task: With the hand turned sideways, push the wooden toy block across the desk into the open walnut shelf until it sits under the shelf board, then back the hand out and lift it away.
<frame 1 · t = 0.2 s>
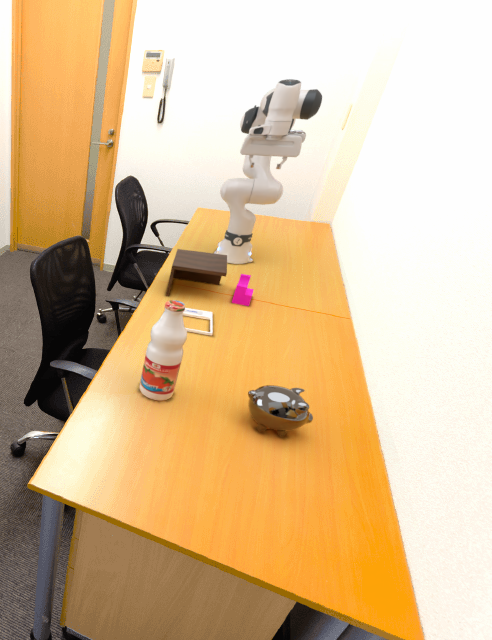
hand: (264, 168, 169), 48 cm above the table, tool pointing down, fingers open, 8 cm apart
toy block: (242, 298, 177), on the table
fruit juice: (155, 391, 123), on the table
piggy bank: (270, 427, 110), on the table
photo frame: (190, 321, 160), on the table
shelf: (193, 290, 184), on the table
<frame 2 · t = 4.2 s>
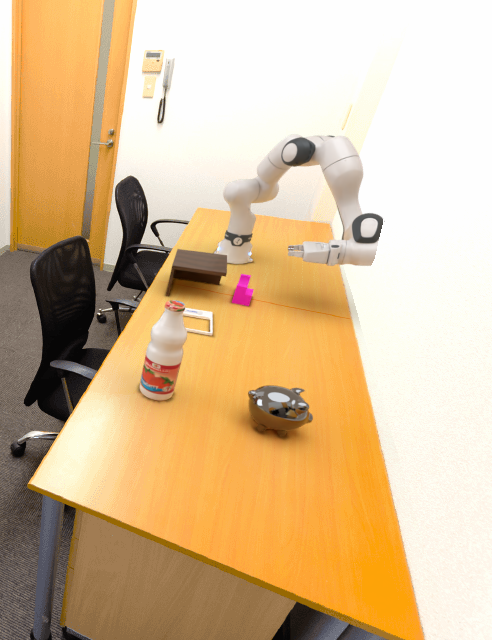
hand: (288, 250, 163), 22 cm above the table, tool horizontal, fingers open, 8 cm apart
nothing on the table moved.
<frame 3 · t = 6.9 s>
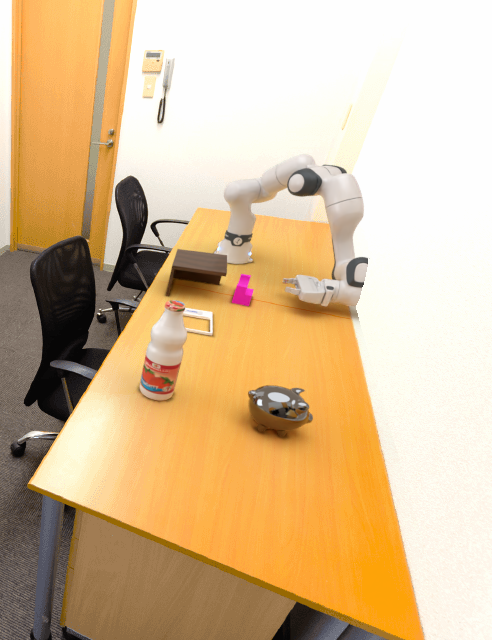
hand: (283, 284, 168), 8 cm above the table, tool horizontal, fingers open, 8 cm apart
nothing on the table moved.
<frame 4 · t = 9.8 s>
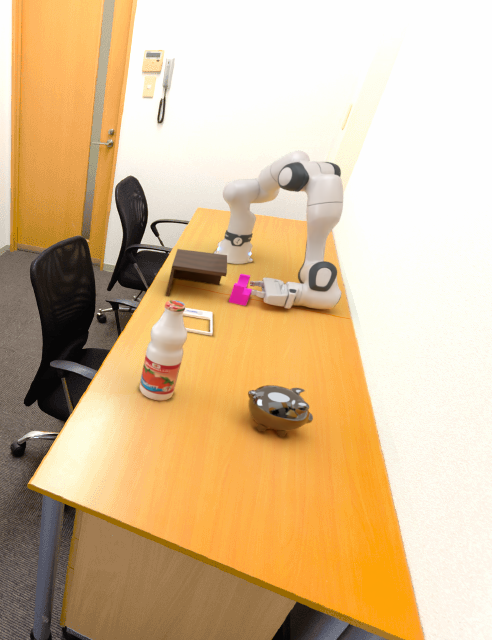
hand: (250, 287, 174), 5 cm above the table, tool horizontal, fingers open, 8 cm apart
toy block: (240, 298, 178), on the table, touching gripper
everything else where it was.
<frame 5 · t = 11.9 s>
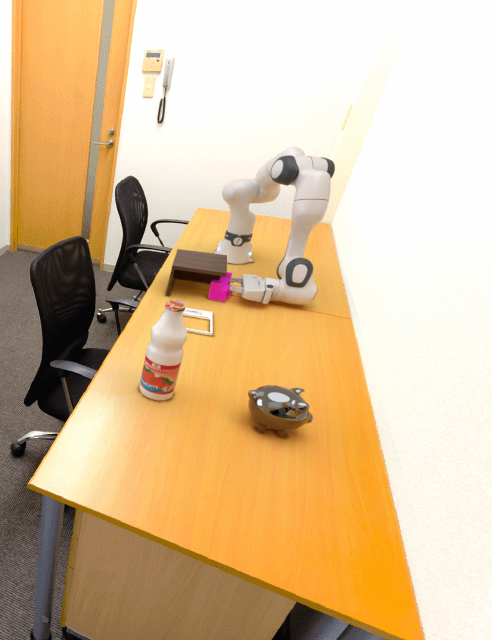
hand: (229, 283, 176), 6 cm above the table, tool horizontal
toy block: (221, 294, 180), on the table, touching gripper
everything else where it was.
when the fingers open (5 cm above the table, at t = 13.6 s): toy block stays where it is, on the table.
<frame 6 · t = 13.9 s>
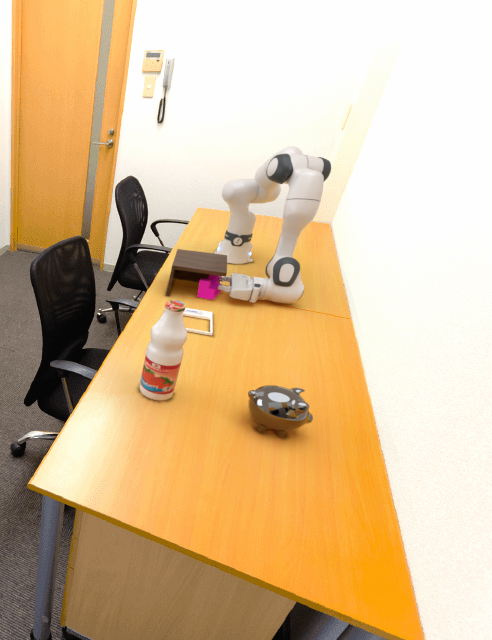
hand: (218, 282, 178), 5 cm above the table, tool horizontal, fingers open, 8 cm apart
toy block: (210, 293, 181), on the table, touching gripper
everything else where it was.
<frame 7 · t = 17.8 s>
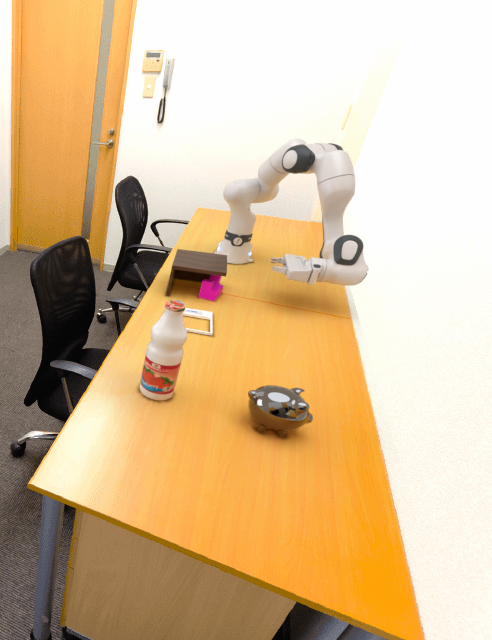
hand: (271, 263, 167), 16 cm above the table, tool horizontal, fingers open, 8 cm apart
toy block: (211, 293, 181), on the table
everything else where it was.
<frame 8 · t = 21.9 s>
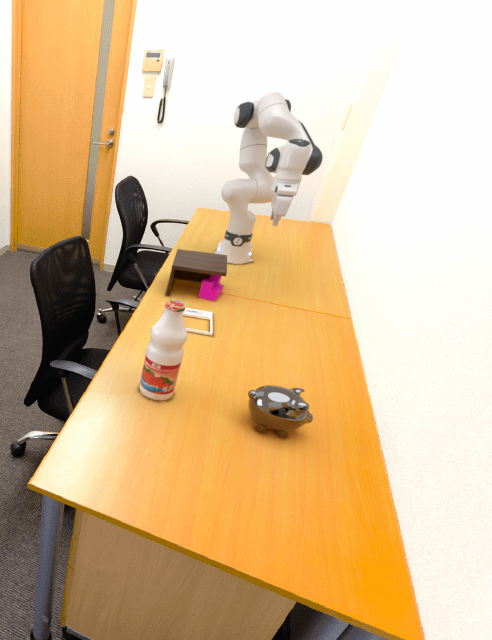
hand: (273, 222, 170), 29 cm above the table, tool pointing down, fingers open, 8 cm apart
nothing on the table moved.
at the end: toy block inside the target area on the shelf (7.3 cm from its centre), point 0.0 cm above the shelf's base; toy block tilted 0° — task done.
